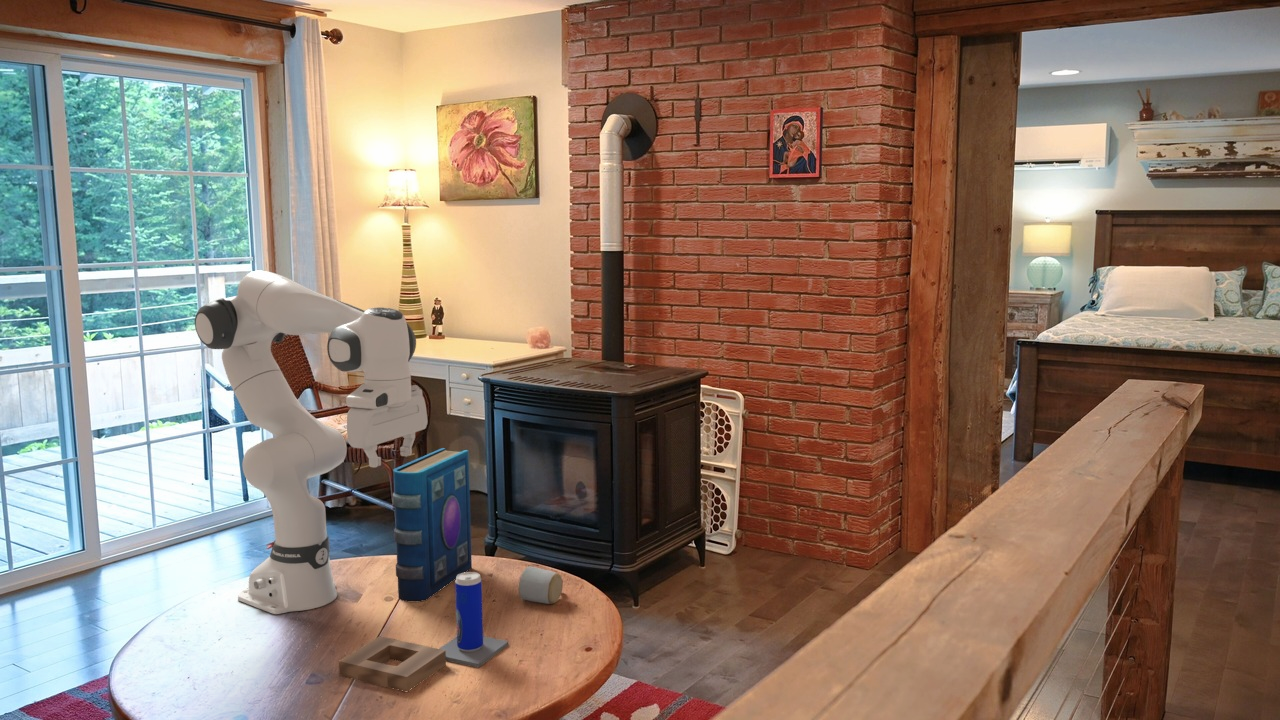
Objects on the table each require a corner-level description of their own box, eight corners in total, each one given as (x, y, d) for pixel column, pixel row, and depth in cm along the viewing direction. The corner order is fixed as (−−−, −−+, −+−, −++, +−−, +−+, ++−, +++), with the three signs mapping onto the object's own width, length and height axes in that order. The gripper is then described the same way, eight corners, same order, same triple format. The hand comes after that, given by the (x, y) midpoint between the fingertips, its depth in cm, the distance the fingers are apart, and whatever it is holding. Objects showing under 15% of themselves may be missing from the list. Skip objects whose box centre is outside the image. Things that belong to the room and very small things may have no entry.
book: (425, 605, 216) (421, 475, 211) (391, 600, 219) (386, 471, 214) (476, 569, 238) (474, 450, 234) (445, 565, 241) (442, 447, 237)
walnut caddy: (339, 675, 182) (338, 660, 182) (380, 650, 193) (379, 636, 193) (407, 692, 176) (406, 677, 176) (446, 664, 187) (445, 650, 186)
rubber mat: (431, 657, 190) (431, 653, 190) (463, 635, 200) (463, 631, 200) (478, 667, 186) (478, 663, 185) (508, 644, 195) (508, 641, 195)
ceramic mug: (550, 609, 213) (550, 576, 212) (518, 604, 216) (517, 572, 215) (570, 593, 223) (570, 561, 222) (538, 588, 226) (538, 557, 225)
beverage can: (458, 642, 195) (455, 571, 193) (483, 640, 196) (481, 570, 193) (456, 653, 190) (454, 581, 188) (482, 652, 190) (480, 580, 188)
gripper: (408, 382, 197) (411, 447, 199) (339, 399, 178) (343, 471, 180) (433, 384, 194) (436, 450, 196) (366, 401, 176) (369, 475, 178)
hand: (391, 460), depth 188 cm, fingers open, 8 cm apart
